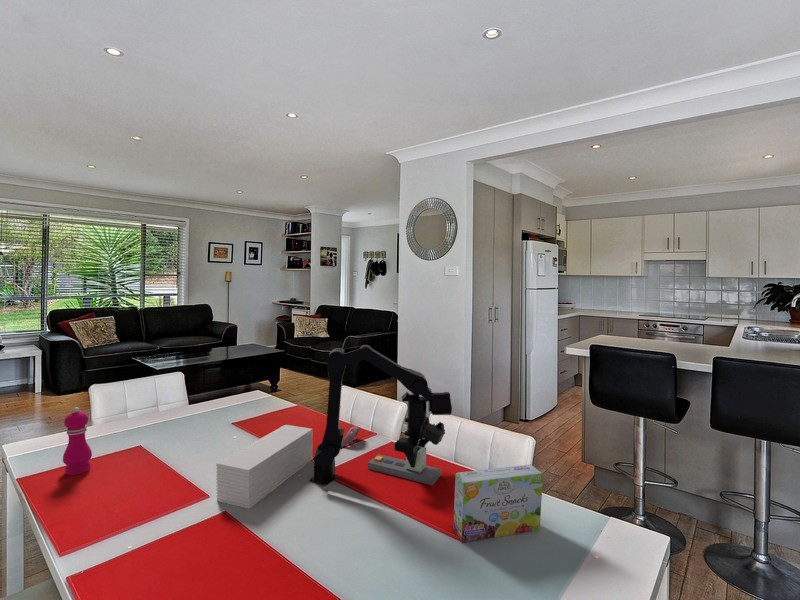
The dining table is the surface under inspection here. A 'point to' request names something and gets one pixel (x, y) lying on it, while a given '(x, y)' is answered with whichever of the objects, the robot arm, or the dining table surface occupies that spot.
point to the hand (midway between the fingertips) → (415, 464)
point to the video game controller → (351, 435)
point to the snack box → (497, 502)
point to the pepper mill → (76, 443)
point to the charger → (418, 461)
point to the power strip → (403, 469)
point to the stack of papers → (263, 465)
